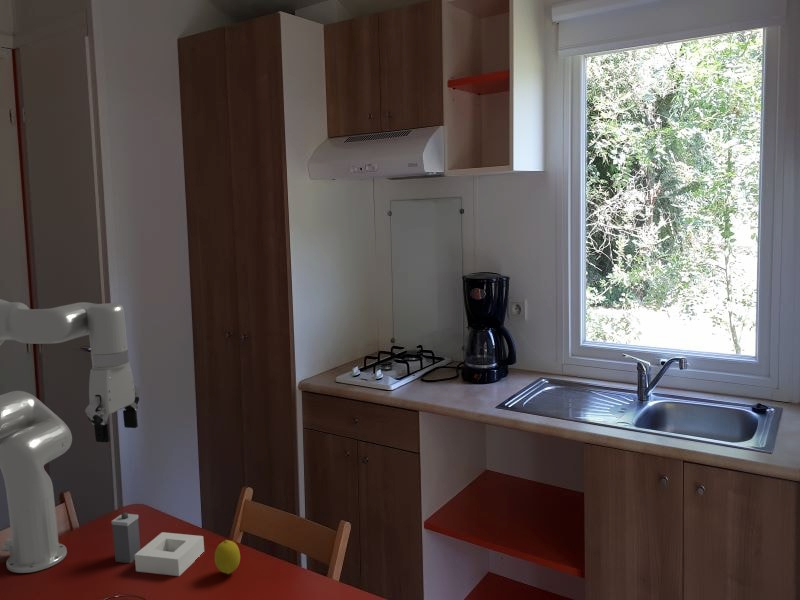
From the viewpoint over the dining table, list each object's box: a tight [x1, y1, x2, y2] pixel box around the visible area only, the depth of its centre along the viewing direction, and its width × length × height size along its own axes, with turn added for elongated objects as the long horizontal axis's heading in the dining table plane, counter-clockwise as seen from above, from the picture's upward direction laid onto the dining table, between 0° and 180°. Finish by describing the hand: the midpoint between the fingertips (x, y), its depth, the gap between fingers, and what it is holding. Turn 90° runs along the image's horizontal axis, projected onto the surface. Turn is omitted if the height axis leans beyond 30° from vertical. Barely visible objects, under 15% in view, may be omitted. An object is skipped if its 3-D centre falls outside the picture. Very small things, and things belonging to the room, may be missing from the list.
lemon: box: [214, 539, 241, 575], centre depth 153 cm, size 6×6×8 cm
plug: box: [110, 512, 141, 564], centre depth 161 cm, size 4×4×11 cm
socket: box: [134, 531, 205, 577], centre depth 159 cm, size 11×11×4 cm
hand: (117, 434), depth 153 cm, fingers open, 9 cm apart
